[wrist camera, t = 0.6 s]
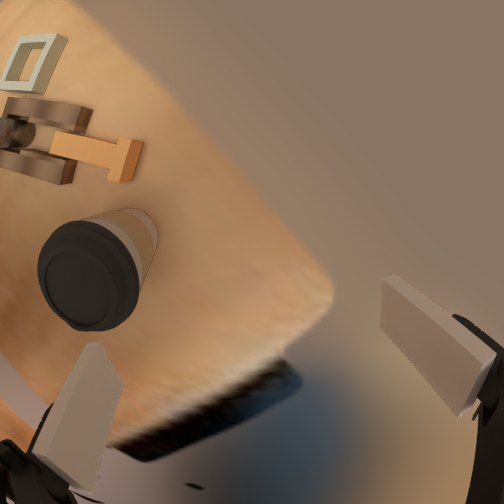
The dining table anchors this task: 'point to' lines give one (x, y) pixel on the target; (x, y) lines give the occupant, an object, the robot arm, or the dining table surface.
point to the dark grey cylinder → (16, 133)
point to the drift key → (100, 153)
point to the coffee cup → (97, 268)
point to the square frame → (44, 65)
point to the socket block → (39, 161)
